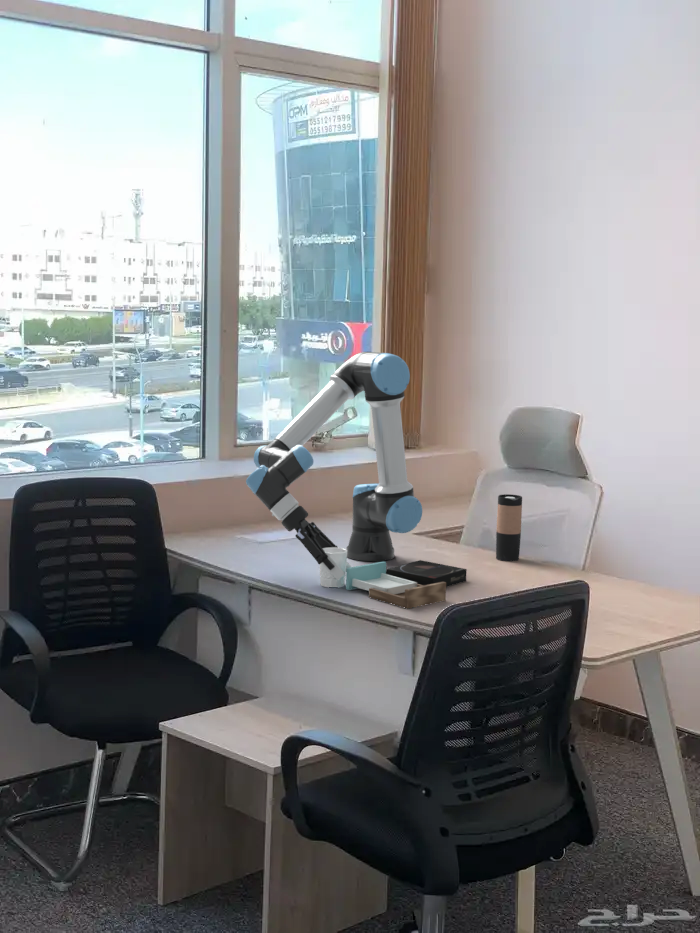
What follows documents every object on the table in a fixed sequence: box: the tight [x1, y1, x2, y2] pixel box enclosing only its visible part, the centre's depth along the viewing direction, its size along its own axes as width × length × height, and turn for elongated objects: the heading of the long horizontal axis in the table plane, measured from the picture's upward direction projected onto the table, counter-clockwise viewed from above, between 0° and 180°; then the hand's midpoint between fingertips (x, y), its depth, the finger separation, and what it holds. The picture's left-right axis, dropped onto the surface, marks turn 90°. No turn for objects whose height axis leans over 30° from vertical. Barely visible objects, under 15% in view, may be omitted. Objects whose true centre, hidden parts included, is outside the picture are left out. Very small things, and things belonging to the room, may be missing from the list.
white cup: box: [319, 547, 348, 588], centre depth 327 cm, size 8×8×10 cm
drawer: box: [368, 582, 447, 610], centre depth 314 cm, size 14×15×5 cm
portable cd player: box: [386, 559, 467, 588], centre depth 335 cm, size 16×17×4 cm
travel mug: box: [495, 493, 523, 562], centre depth 366 cm, size 8×8×20 cm
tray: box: [345, 560, 417, 594], centre depth 321 cm, size 14×15×6 cm
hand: (344, 573), depth 326 cm, fingers closed on white cup, 8 cm apart
